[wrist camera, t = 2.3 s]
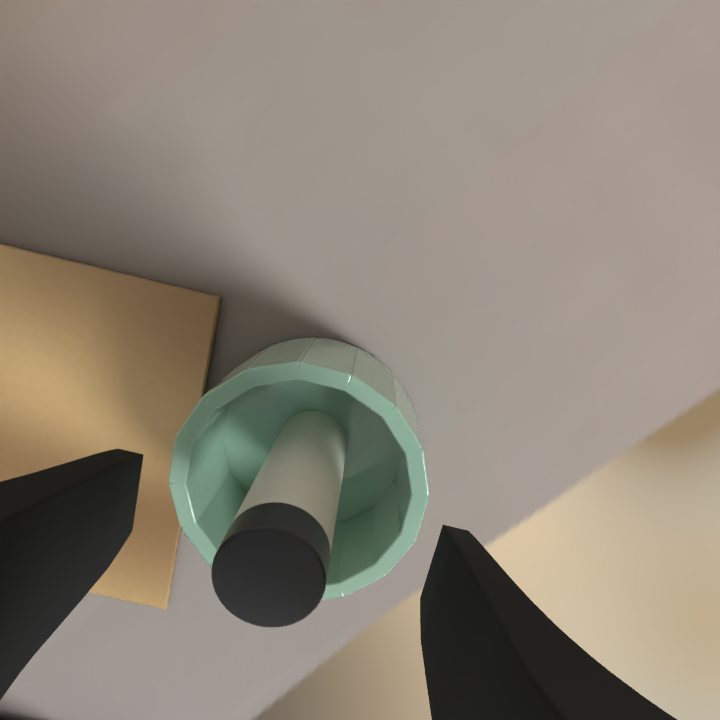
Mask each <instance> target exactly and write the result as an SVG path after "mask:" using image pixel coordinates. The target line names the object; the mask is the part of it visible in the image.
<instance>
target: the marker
mask: <svg viewBox="0 0 720 720" xmlns="http://www.w3.org/2000/svg"><path fill="white" fill-rule="evenodd" d="M346 452H347V437H346V433H345V431H344V429H343V427H342V426H341V424H340V423H339V422H338V421H337V420H336V419H335V418H333V417H332V416H330V415H329V414H326V413H324V412H320V411H304V412H300V413H298V414H296V415H294V416H292V417H291V418H290V419H289V420H287V422H286V423H285V424H284V426H283V427H282V429H281V431H280V433H279V435H278V437H277V439H276V440H275V442H274V444H273V446H272V448H271V450H270V452H269V454H268V456H267V457H266V459H265V461H264V463H263V465H262V467H261V469H260V471H259V473H258V474H257V476H256V478H255V480H254V482H253V484H252V486H251V488H250V490H249V491H248V493H247V495H246V497H245V499H244V501H243V503H242V505H241V507H240V508H239V510H238V512H237V514H236V516H235V518H234V520H233V522H232V524H231V526H230V527H229V529H228V531H227V533H226V535H225V537H224V539H223V541H222V542H221V544H220V546H219V548H218V550H217V552H216V554H215V556H214V559H213V563H212V570H211V572H212V582H213V587H214V590H215V592H216V594H217V596H218V598H219V600H220V601H221V603H222V604H223V605H224V606H225V607H226V609H228V610H229V611H230V612H231V613H232V614H233V615H235V616H236V617H238V618H239V619H241V620H243V621H245V622H248V623H250V624H253V625H257V626H262V627H282V626H287V625H291V624H294V623H296V622H298V621H300V620H302V619H304V618H305V617H307V616H308V615H309V614H310V613H311V612H312V611H313V610H314V609H315V608H316V607H317V605H318V604H319V603H320V601H321V599H322V597H323V594H324V591H325V587H326V581H327V575H328V568H329V562H330V555H331V549H332V542H333V536H334V529H335V523H336V516H337V510H338V504H339V497H340V491H341V484H342V478H343V471H344V465H345V458H346Z"/></svg>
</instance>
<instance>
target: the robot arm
mask: <svg viewBox="0 0 720 720" xmlns="http://www.w3.org/2000/svg"><path fill="white" fill-rule="evenodd" d="M143 455H144V454H139V453H135V452H131V451H127V450H122V449H113V450H108V451H104V452H101V453H97V454H94V455H90V456H87V457H84V458H80V459H77V460H74V461H70V462H67V463H64V464H61V465H57V466H54V467H51V468H47V469H44V470H41V471H38V472H34V473H31V474H27V475H23V476H19V477H16V478H12V479H8V480H4V481H1V482H0V700H1V698H2V697H3V695H4V694H5V693H6V691H7V690H8V688H9V687H10V686H11V684H12V683H13V682H14V680H15V679H16V677H17V676H18V675H19V673H20V672H21V671H22V669H23V668H24V667H25V666H26V664H27V663H28V662H29V661H30V659H31V658H32V657H33V656H34V654H35V653H36V652H37V651H38V650H39V648H40V647H41V646H42V645H43V644H44V643H45V642H46V640H47V639H48V638H49V637H50V636H51V635H52V633H53V632H54V631H55V630H56V629H57V628H58V626H59V625H60V624H61V623H62V622H63V621H64V619H65V618H66V617H67V616H68V615H69V614H70V613H71V611H72V610H73V609H74V608H75V607H76V606H77V604H78V603H79V602H80V601H81V600H82V599H83V597H84V596H85V595H86V594H87V593H88V592H89V590H90V589H91V588H92V587H93V586H94V585H95V583H96V582H97V581H98V580H99V579H100V577H101V576H102V575H103V574H104V573H105V571H106V570H107V569H108V568H109V566H110V565H111V563H112V562H113V560H114V559H115V557H116V556H117V554H118V553H119V551H120V550H121V548H122V547H123V545H124V544H125V542H126V540H127V539H128V537H129V536H130V534H131V533H132V531H133V524H134V517H135V510H136V504H137V497H138V490H139V483H140V476H141V469H142V462H143ZM420 605H421V606H420V616H421V617H420V622H421V645H422V652H423V659H424V666H425V675H426V682H427V688H428V695H429V702H430V709H431V716H432V720H677V719H675V718H673V717H672V716H671V715H669V714H667V713H666V712H664V711H663V710H662V709H660V708H659V707H657V706H656V705H655V704H653V703H652V702H650V701H649V700H647V699H646V698H644V697H643V696H642V695H640V694H639V693H638V692H636V691H635V690H634V689H632V688H631V687H629V686H628V685H627V684H626V683H624V682H623V681H622V680H620V679H619V678H618V677H616V676H615V675H614V674H612V673H611V672H610V671H608V670H607V669H606V668H605V667H603V666H602V665H601V664H600V663H598V662H597V661H596V660H595V659H594V658H592V657H591V656H590V655H589V654H588V653H587V652H585V651H584V650H583V649H582V648H581V647H580V646H578V645H577V644H576V643H575V642H574V641H573V640H572V639H570V638H569V637H568V636H567V635H566V634H565V633H564V632H563V631H562V630H560V629H559V628H558V627H557V626H556V625H555V624H554V623H553V622H552V621H551V620H550V619H549V618H548V617H547V616H546V615H545V614H544V613H543V612H542V611H541V610H540V609H539V608H538V607H537V606H536V605H535V604H534V603H533V602H532V601H531V600H530V599H529V598H528V597H527V596H526V595H525V593H524V592H523V591H522V590H521V589H520V588H519V587H518V586H517V585H516V584H515V583H514V581H513V580H512V579H511V578H510V577H509V576H508V575H507V574H506V572H505V571H504V570H503V569H502V568H501V567H500V566H499V564H498V563H497V562H496V561H495V560H494V559H493V558H492V556H491V555H490V554H489V553H488V552H487V551H486V549H485V548H484V547H483V546H482V545H481V544H480V543H479V541H478V540H477V539H476V538H475V537H474V536H473V535H472V534H471V533H470V532H469V531H467V530H462V529H458V528H454V527H450V526H445V525H443V527H442V530H441V533H440V536H439V540H438V543H437V546H436V549H435V552H434V556H433V559H432V562H431V565H430V569H429V572H428V575H427V578H426V582H425V585H424V588H423V591H422V595H421V598H420Z"/></svg>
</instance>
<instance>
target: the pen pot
mask: <svg viewBox="0 0 720 720" xmlns="http://www.w3.org/2000/svg"><path fill="white" fill-rule="evenodd" d="M304 411H320V412H324V413H326V414H329V415H330V416H332V417H333V418H335V419H336V420H337V421H338V422H339V423H340V424H341V426H342V427H343V429H344V431H345V433H346V437H347V452H346V458H345V465H344V471H343V478H342V484H341V491H340V497H339V504H338V510H337V516H336V523H335V529H334V536H333V542H332V549H331V555H330V562H329V568H328V575H327V581H326V587H325V591H324V594H323V597H322V599H321V600H323V599H332V598H340V597H344V596H347V595H349V594H351V593H353V592H355V591H357V590H359V589H361V588H363V587H365V586H367V585H369V584H371V583H373V582H375V581H376V580H378V579H380V578H382V577H384V576H385V575H387V574H388V573H389V572H390V570H391V569H392V568H393V567H394V566H395V565H396V563H397V562H398V561H399V560H400V559H401V557H402V556H403V555H404V554H405V553H406V552H407V550H408V549H409V548H410V547H411V546H412V545H413V543H414V542H415V540H416V539H417V536H418V533H419V530H420V526H421V523H422V519H423V516H424V513H425V509H426V506H427V503H428V499H429V487H428V480H427V473H426V466H425V459H424V452H423V446H422V442H421V437H420V433H419V428H418V424H417V419H416V415H415V411H414V408H413V406H412V404H411V403H410V400H409V398H408V396H407V394H406V392H405V390H404V389H403V387H402V385H401V384H400V383H399V381H398V380H397V378H396V377H395V376H394V375H393V374H392V373H391V372H390V370H389V369H388V368H387V367H386V366H385V365H383V364H382V363H381V362H380V361H379V360H377V359H376V358H375V357H373V356H372V355H370V354H368V353H367V352H365V351H364V350H361V349H359V348H357V347H355V346H353V345H350V344H347V343H344V342H341V341H337V340H332V339H326V338H298V339H292V340H288V341H283V342H280V343H278V344H274V345H272V346H269V347H268V348H266V349H264V350H262V351H260V352H258V353H257V354H255V355H254V356H252V357H251V358H250V359H248V360H247V361H245V362H243V363H242V364H240V365H239V366H237V367H236V368H235V369H234V370H233V371H231V372H230V373H229V374H228V375H227V376H226V377H224V378H223V379H222V380H221V381H220V382H219V383H217V384H216V385H215V386H214V387H213V388H211V389H210V390H209V391H208V392H207V393H206V394H205V395H204V396H202V397H201V399H200V400H199V402H198V403H197V405H196V406H195V408H194V409H193V411H192V412H191V414H190V415H189V417H188V418H187V420H186V421H185V423H184V424H183V425H182V427H181V428H180V430H179V431H178V433H177V436H176V437H175V443H174V449H173V455H172V461H171V467H170V474H169V480H168V482H169V487H170V491H171V495H172V499H173V502H174V506H175V510H176V514H177V517H178V521H179V525H180V527H181V529H182V531H183V532H184V533H185V535H186V536H187V537H188V539H189V540H190V541H191V543H192V544H193V545H194V547H195V548H196V549H197V551H198V552H199V553H200V555H201V556H202V557H203V559H204V560H205V561H206V563H207V564H208V565H210V567H212V563H213V559H214V556H215V554H216V552H217V550H218V548H219V546H220V544H221V542H222V541H223V539H224V537H225V535H226V533H227V531H228V529H229V527H230V526H231V524H232V522H233V520H234V518H235V516H236V514H237V512H238V510H239V508H240V507H241V505H242V503H243V501H244V499H245V497H246V495H247V493H248V491H249V490H250V488H251V486H252V484H253V482H254V480H255V478H256V476H257V474H258V473H259V471H260V469H261V467H262V465H263V463H264V461H265V459H266V457H267V456H268V454H269V452H270V450H271V448H272V446H273V444H274V442H275V440H276V439H277V437H278V435H279V433H280V431H281V429H282V427H283V426H284V424H285V423H286V422H287V420H289V419H290V418H291V417H292V416H294V415H296V414H298V413H300V412H304Z"/></svg>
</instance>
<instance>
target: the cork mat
mask: <svg viewBox="0 0 720 720" xmlns="http://www.w3.org/2000/svg"><path fill="white" fill-rule="evenodd" d="M220 300H221V297H220V296H216V295H211V294H207V293H203V292H199V291H195V290H191V289H187V288H182V287H178V286H174V285H170V284H166V283H162V282H158V281H153V280H149V279H145V278H141V277H137V276H133V275H129V274H124V273H120V272H116V271H112V270H108V269H104V268H100V267H95V266H91V265H87V264H83V263H79V262H75V261H70V260H66V259H62V258H58V257H54V256H50V255H46V254H41V253H37V252H33V251H29V250H25V249H21V248H17V247H12V246H8V245H4V244H0V482H1V481H4V480H8V479H12V478H16V477H19V476H23V475H27V474H31V473H34V472H38V471H41V470H44V469H47V468H51V467H54V466H57V465H61V464H64V463H67V462H70V461H74V460H77V459H80V458H84V457H87V456H90V455H94V454H97V453H101V452H104V451H108V450H113V449H122V450H127V451H131V452H135V453H139V454H144V455H143V462H142V469H141V476H140V483H139V490H138V497H137V504H136V510H135V517H134V524H133V531H132V533H131V534H130V536H129V537H128V539H127V540H126V542H125V544H124V545H123V547H122V548H121V550H120V551H119V553H118V554H117V556H116V557H115V559H114V560H113V562H112V563H111V565H110V566H109V568H108V569H107V570H106V571H105V573H104V574H103V575H102V576H101V577H100V579H99V580H98V581H97V582H96V583H95V585H94V586H93V587H92V588H91V589H90V590H89V592H91V593H96V594H100V595H104V596H109V597H113V598H117V599H122V600H126V601H131V602H135V603H139V604H144V605H148V606H152V607H157V608H161V609H166V607H167V605H168V602H169V596H170V591H171V585H172V579H173V573H174V567H175V562H176V556H177V550H178V544H179V538H180V533H181V527H180V525H179V521H178V517H177V514H176V510H175V506H174V502H173V499H172V495H171V491H170V487H169V482H168V480H169V474H170V467H171V461H172V455H173V449H174V443H175V437H176V436H177V433H178V431H179V430H180V428H181V427H182V425H183V424H184V423H185V421H186V420H187V418H188V417H189V415H190V414H191V412H192V411H193V409H194V408H195V406H196V405H197V403H198V402H199V400H200V399H201V397H202V396H204V393H205V387H206V382H207V376H208V370H209V364H210V358H211V352H212V347H213V341H214V335H215V329H216V323H217V318H218V312H219V306H220Z"/></svg>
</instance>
